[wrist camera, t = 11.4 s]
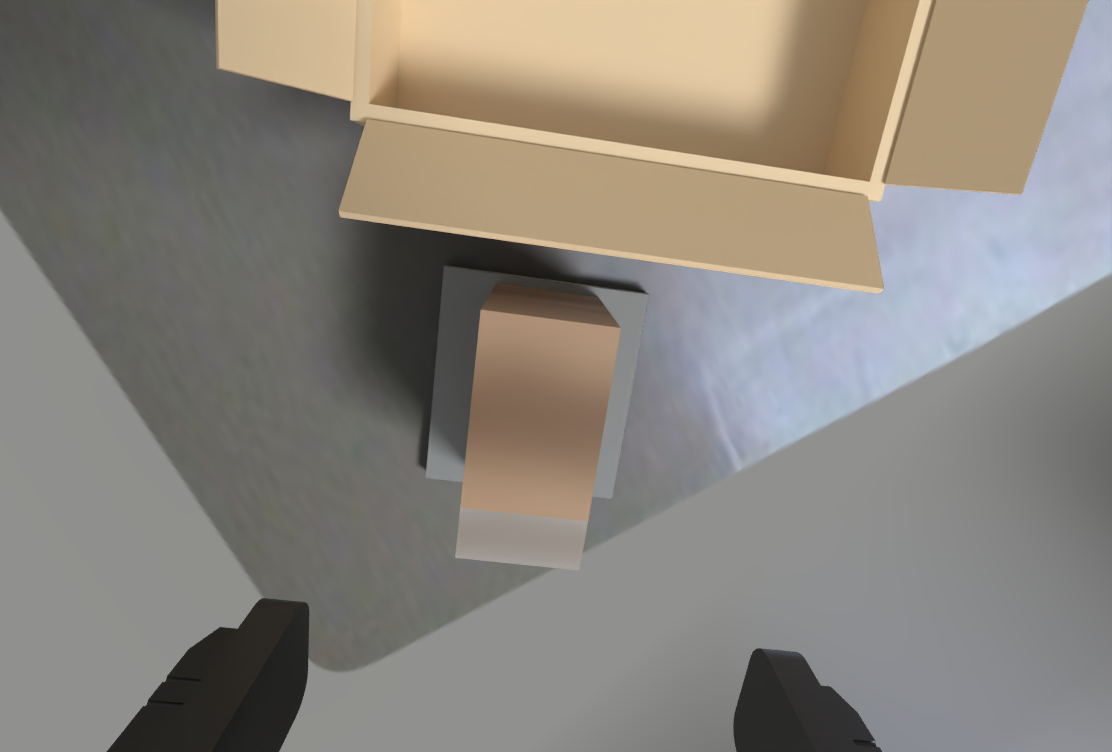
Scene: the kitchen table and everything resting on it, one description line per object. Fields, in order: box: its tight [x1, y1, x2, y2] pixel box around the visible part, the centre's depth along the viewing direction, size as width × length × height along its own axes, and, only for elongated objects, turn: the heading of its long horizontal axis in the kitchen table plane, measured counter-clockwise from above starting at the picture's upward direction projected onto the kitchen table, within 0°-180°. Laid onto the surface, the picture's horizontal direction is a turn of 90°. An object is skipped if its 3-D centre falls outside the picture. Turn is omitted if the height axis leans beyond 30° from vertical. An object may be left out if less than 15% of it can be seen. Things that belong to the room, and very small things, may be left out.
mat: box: [426, 265, 649, 499], centre depth 26 cm, size 10×9×1 cm
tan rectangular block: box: [455, 283, 621, 570], centre depth 23 cm, size 9×4×7 cm, turn 172°
